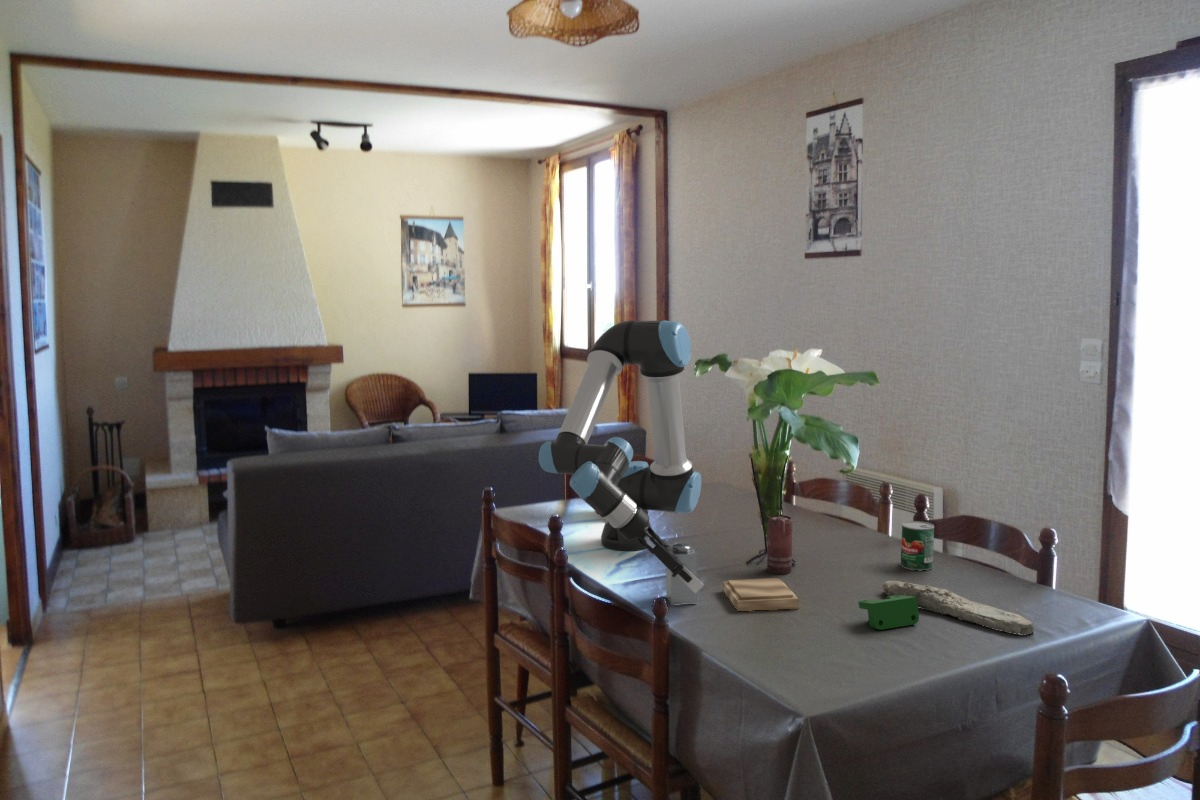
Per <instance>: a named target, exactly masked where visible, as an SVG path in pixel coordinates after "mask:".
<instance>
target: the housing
mask: <svg viewBox="0 0 1200 800" xmlns="http://www.w3.org/2000/svg"><path fill="white" fill-rule="evenodd" d="M672 546H673V547H672ZM672 546H670V547H666V549H667V550H668V551H669V553H670V554H671V555H672V556H673V557H674V558H675V559H676V560H677V561H678V562H679V563H680V564H682V565H684V566H685V567H686V568H687V569H688V570H689V571H690V572H691V573H692V574H693V575H694V576H695V577H696V578H697V579H698V553H697V552H696V550H695V549H694V547H693V546H691V545H690V544H687V543H676V544H673V545H672ZM665 567H666V566H665ZM676 567H677V566H676ZM665 569H666V571H665V572H666V573H665V574H666V586H665V587H666V595H667V597H666V598H668V599H667V600H669V601H668V603H669V602H670V603H669V604H670V607H673V606H672V605H674V604H681V603H697V604H698V592H697V593H696V594H695V593H694V592H693V591H692V590H691V589H690V588H689V587H688V586H687V585H686V584H685V583H684V582H683V581H682V580H680V579H679V578H678V577H677V576H675V577H673V576H672V575H673V573H672V572H671V571H670V570H669V569H668V568H667V567H666V568H665Z"/></svg>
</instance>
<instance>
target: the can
mask: <svg viewBox="0 0 1200 800" xmlns="http://www.w3.org/2000/svg"><path fill="white" fill-rule="evenodd" d="M766 546H767V550H766V551H767V554H766V555H767V559H766V560H767V563H766V567H767V568H766V569H767V570H768V572H769V571H770V572H769V573H771V572H772V573H771V574H774V573H777V574H776V575H788V574H790V573H791V571H792V570H793V569H792V567H793V564H792V563H793V520H792V517H790V516H787V515H782V514H781V515H780V514H777V515H776V514H775V515H770V516H769V517H768V519H767V545H766ZM789 572H790V573H789ZM787 573H788V574H787Z"/></svg>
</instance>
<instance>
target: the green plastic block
mask: <svg viewBox="0 0 1200 800" xmlns="http://www.w3.org/2000/svg"><path fill="white" fill-rule="evenodd" d="M858 608H859V609H862V610H867V616H868V624H869V627H870V628H871V629H875V630H880V631H882V630H889V629H893V628H899V627H905V626H906V627H907V626H911V625H912V626H913V625H916V624H918V622H919V619H920V617H919V614H920V613H919V608H918V606H917V599H916V597H912V596H903V595H895V596H888V595H887V596H885V599H869V598H868V599H864V600H858Z"/></svg>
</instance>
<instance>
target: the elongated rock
mask: <svg viewBox="0 0 1200 800" xmlns="http://www.w3.org/2000/svg"><path fill="white" fill-rule="evenodd" d="M881 587H882V591H884V592H885V595H887V597H888V596H895V595H903V596H912V597H916V599H917V606H918V607H921V608H923V609H927V610H926V611H930V612H932V611H934V612H933V613H935V612H937V614H939V613H940V614H939V615H950V616H951V617H954V618H957V619H958V620H959V621H963V620H965V622H970V623H974V624H975V623H976V625H978V624H979V625H978V626H980V625H984V626H988V627H989V628H994V629H998V630H1002V631H1006V632H1011V633H1016V634H1018V633H1020V634H1030V633H1032V632H1035V626H1034V623H1033V622H1032V621H1031V620H1029V619H1027V618H1026V617H1023V616H1022V615H1020V614H1017V613H1015V612H1011V611H1006V610H1004V609H1000V608H997V607H995V606H991V605H989V604H985V603H982V602H978V601H972V600H970V599H968V598H966V597H965V596H964V597H963V596H960V595H958V594H957V593H955V592H952V591H951V590H947V589H946V588H939V587H937V586H932V585H931V586H930V585H928V584H926V585H925V584H919V583H912V582H906V581H905V582H903V581H900V580H887V581H885V582H884V583H883V584H882V586H881ZM989 628H988V629H989Z"/></svg>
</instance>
